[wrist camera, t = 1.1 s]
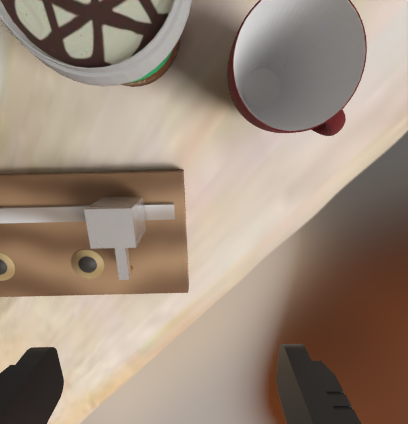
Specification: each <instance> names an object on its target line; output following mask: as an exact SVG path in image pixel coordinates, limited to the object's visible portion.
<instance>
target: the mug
mask: <svg viewBox="0 0 408 424" xmlns="http://www.w3.org/2000/svg"><path fill="white" fill-rule="evenodd" d="M366 52H367V44H366V34H365V30H364V26H363V23H362V20H361V18H360V15H359V13H358V11H357V10H356V8H355V6H354V5H353V4H352V2H351V1H350V0H259V1H258V2H257V3H256V4H255V6H254V7H253V8H252V9H251V10H250V12H249V13H248V15H247V16H246V17H245V19H244V21H243V23H242V24H241V27H240V29H239V31H238V33H237V35H236V38H235V40H234V43H233V46H232V49H231V52H230V56H229V62H228V85H229V90H230V94H231V97H232V100H233V102H234V104H235V106H236V108H237V109H238V111H239V112H240V113H241V114H242V116H243V117H244V118H245V119H246V120H248V121H249V122H250V123H252V124H253V125H255V126H256V127H258V128H261V129H263V130H266V131H270V132H275V133H294V132H302V131H307V130H310V129H311V130H313V131H315V132H317V133H319V134H322V135H325V136H332V135H335V134H336V133H338V132H339V131H340V130H341V129H342V127H343V126H344V123H345V120H346V119H345V114H344V112H343V110H342V109H343V108H344V107H345V106H346V104H347V103H348V102H349V100H350V99H351V98H352V96H353V94H354V93H355V91H356V89H357V87H358V85H359V83H360V80H361V77H362V74H363V71H364V67H365V62H366Z"/></svg>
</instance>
